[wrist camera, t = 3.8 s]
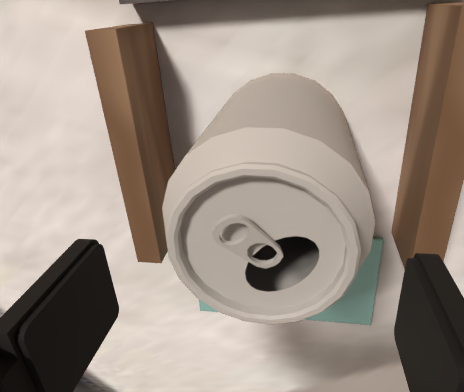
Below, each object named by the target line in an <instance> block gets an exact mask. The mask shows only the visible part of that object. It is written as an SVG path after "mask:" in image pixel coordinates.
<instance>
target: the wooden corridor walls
mask: <svg viewBox="0 0 464 392" xmlns="http://www.w3.org/2000/svg"><path fill="white" fill-rule="evenodd" d="M85 34H86V38H87V42H88V47H89V51H90V55H91V60H92V64H93V68H94V73H95V77H96V81H97V86H98V90H99V94H100V99H101V103H102V107H103V112H104V116H105V120H106V125H107V129H108V133H109V138H110V142H111V146H112V151H113V155H114V160H115V164H116V168H117V173H118V177H119V181H120V186H121V190H122V194H123V199H124V203H125V207H126V212H127V216H128V220H129V225H130V229H131V233H132V238H133V242H134V246H135V251H136V255H137V259H138V262H151V263H161V262H162V261H163V259H164V257H165V255H166V253H167V252H168V249H167V242H166V234H165V226H164V218H163V211H162V206H163V202H164V198H165V193H166V189H167V184H168V181H169V179H170V178H171V176H172V175H173V173H174V172H175V169H174V162H173V156H172V149H171V142H170V136H169V129H168V123H167V116H166V109H165V103H164V96H163V89H162V83H161V76H160V70H159V63H158V56H157V50H156V43H155V37H154V30H153V23H145V24H130V25H122V26H115V27H108V28H101V29H94V30H88V31H85ZM463 180H464V2H452V3H437V4H428V6H427V12H426V18H425V25H424V31H423V37H422V43H421V50H420V56H419V62H418V69H417V75H416V81H415V88H414V94H413V100H412V106H411V113H410V119H409V125H408V132H407V138H406V144H405V150H404V157H403V163H402V169H401V176H400V182H399V188H398V195H397V201H396V207H395V213H394V220H393V226H392V235H393V238H394V240H395V243H396V246H397V249H398V251H399V254H400V257H401V260H402V262H403V265H404V268H405V266H406V261H407V259H408V258H413V257H414V255H415V254H416V253H425V254H438V255H439V256H440V257H441V259H442V261H444V257H445V253H446V249H447V244H448V240H449V236H450V232H451V228H452V224H453V220H454V216H455V212H456V208H457V204H458V200H459V196H460V192H461V188H462V184H463Z"/></svg>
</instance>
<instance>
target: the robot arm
mask: <svg viewBox="0 0 464 392" xmlns="http://www.w3.org/2000/svg"><path fill="white" fill-rule="evenodd" d="M118 313H119V305H118V302H117V298H116V294H115V290H114V286H113V282H112V279H111V275H110V271H109V267H108V263H107V259H106V255H105V252H104V248H103V246H102V245H101V244H99V243H98V241H97V240H92V239H78V240H76V241H75V242H74V243H73V244H72V245H71V246H70V247H69V248H68V249H67V250H66V251H65V252H64V253H63V254H62V255H61V256H60V257H59V258H58V259H57V260H56V261H55V262H54V263H53V264H52V265H51V266H50V267H49V269H48V270H47V271H46V272H45V273H44V274H43V275H42V276H41V277H40V278H39V279H38V280H37V281H36V282H35V283H34V284H33V285H32V286H31V287H30V288H29V289H28V290H27V291H26V292H25V293H24V294H23V295H22V296H21V297H20V298H19V299H18V300H17V301H16V302H15V303H14V304H13V305H12V306H11V307H10V308H9V309H8V310H7V311H6V313H5V314H4V315H3V316H2V317H1V318H0V392H73V391H74V389H75V387H76V385H77V384H78V382H79V381H80V379H81V377H82V376H83V374H84V372H85V371H86V369H87V367H88V366H89V364H90V362H91V360H92V359H93V357H94V355H95V354H96V352H97V350H98V349H99V347H100V345H101V344H102V342H103V340H104V339H105V337H106V335H107V334H108V332H109V330H110V329H111V327H112V325H113V324H114V322H115V320H116V319H117V317H118ZM394 335H395V341H396V345H397V348H398V352H399V355H400V359H401V362H402V366H403V369H404V373H405V376H406V380H407V383H408V387H409V390H410V392H464V298H463V296H462V294H461V292H460V291H459V289H458V287H457V285H456V284H455V282H454V280H453V278H452V277H451V275H450V273H449V271H448V269H447V268H446V266H445V264H444V262H443V261H442V259H441V257H440V256H439V255H438V254H425V253H416V254H415V255H414V257H413V258H408V259H407V261H406V266H405V272H404V277H403V283H402V289H401V294H400V300H399V305H398V311H397V317H396V322H395V328H394Z"/></svg>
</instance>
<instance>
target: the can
mask: <svg viewBox="0 0 464 392" xmlns="http://www.w3.org/2000/svg"><path fill="white" fill-rule="evenodd" d="M162 211H163V218H164V226H165V234H166V242H167V249H168V256H169V259H170V261H171V263H172V265H173V267H174V269H175V271H176V273H177V275H178V277H179V279H180V280H181V281H182V282H183V283H184V284H185V286H186V287H187V288H188V289H189V290H190V291H191V292H192V293H193V294H194V295H195V296H196V297H197V298H198V299H200V300H201V301H203V302H204V303H206V304H207V305H209V306H210V307H212V308H214V309H215V310H217V311H218V312H220V313H223V314H226V315H229V316H231V317H234V318H237V319H240V320H243V321H247V322H256V323H264V324H280V323H288V322H297V321H301V320H303V319H306V318H309V317H311V316H314V315H316V314H319V313H321V312H324V311H325V310H326V309H328V308H329V307H330V306H331V305H333V304H334V303H335V302H336V301H338V300H339V299H340V298H342V297H343V296H344V294H345V293H346V291H347V290H348V288H349V286H350V285H351V283H352V282H353V280H354V278H355V277H356V275H357V272H358V270H359V269H360V267H361V266H362V264H363V262H364V261H365V259H366V258H367V256H368V254H369V253H370V250H371V245H372V239H373V234H374V228H375V223H376V222H375V217H374V213H373V208H372V203H371V199H370V194H369V190H368V187H367V184H366V181H365V178H364V174H363V171H362V168H361V165H360V162H359V159H358V156H357V153H356V149H355V146H354V143H353V140H352V137H351V134H350V131H349V127H348V124H347V121H346V118H345V115H344V112H343V110H342V109H341V107H340V106H339V104H338V103H337V101H336V99H335V98H334V96H333V95H332V94H331V93H330V92H329V91H327V90H326V89H325V88H324V87H322V86H321V85H320V84H318V83H317V82H316V81H314V80H311V79H308V78H305V77H302V76H299V75H296V74H269V75H266V76H263V77H260V78H257V79H254V80H251V81H249V82H248V83H247V84H245V85H244V86H243V87H241V88H240V89H239V90H237V91H236V92H235V93H234V94H233V95H232V96H231V97H230V99H229V100H228V101H227V103H226V104H225V105H224V106H223V108H222V109H221V110H220V112H219V113H218V114H217V115H216V117H215V118H214V119H213V121H212V122H211V123H210V125H209V126H208V127H207V128H206V130H205V131H204V132H203V134H202V135H201V136H200V137H199V139H198V140H197V141H196V143H195V144H194V145H193V146H192V148H191V149H190V150H189V152H188V153H187V154H186V156H185V157H184V158H183V160H182V161H181V163H180V164H179V166H178V167H177V169H176V170H175V172H174V173H173V175H172V176H171V178H170V179H169V181H168V184H167V189H166V193H165V198H164V202H163V206H162Z"/></svg>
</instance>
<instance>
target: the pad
mask: <svg viewBox="0 0 464 392" xmlns="http://www.w3.org/2000/svg"><path fill="white" fill-rule="evenodd" d="M382 245H383V239H382V238H373V239H372V245H371V250H370V253H369V254H368V256H367V258H366V259H365V261H364V262H363V264H362V266H361V267H360V269H359V270H358V272H357V275H356V277H355V278H354V280H353V282H352V283H351V285H350V286H349V288H348V290H347V291H346V293H345V294H344V296H343V297H342V298H340V299H339V300H338V301H336V302H335V303H334V304H333V305H331V306H330V307H329V308H328V309H326V310H325V311H324V312H321V313H319V314H316V315H314V316H311V317H309V318H306V319H305V320H317V321H329V322H341V323H352V324H364V325H371V319H372V313H373V306H374V299H375V292H376V286H377V279H378V272H379V266H380V259H381V252H382ZM199 304H200V311H212V312H218V311H217V310H215V309H214V308H212V307H210V306H209V305H207V304H206V303H204V302H203V301H201V300H200V299H199Z"/></svg>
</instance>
